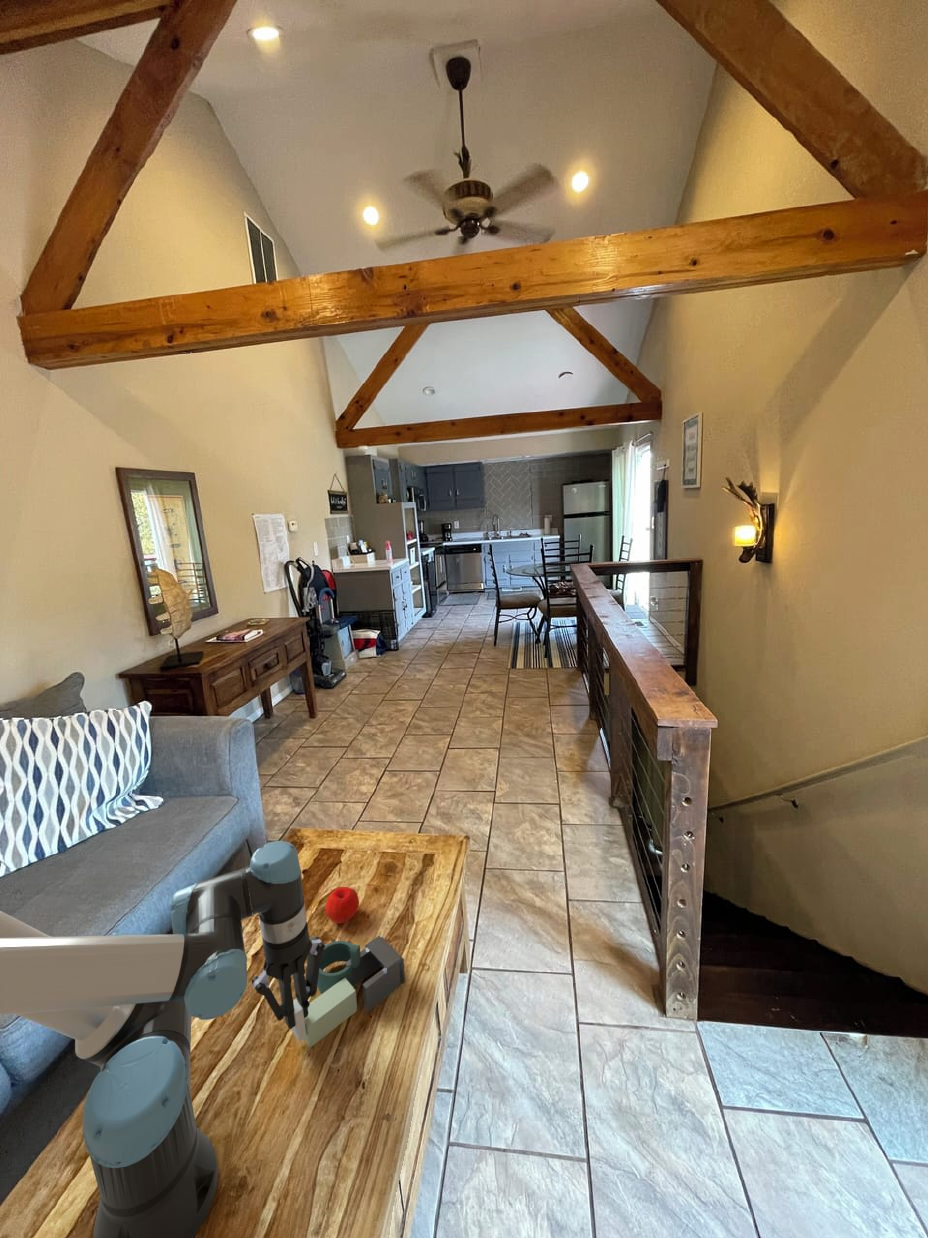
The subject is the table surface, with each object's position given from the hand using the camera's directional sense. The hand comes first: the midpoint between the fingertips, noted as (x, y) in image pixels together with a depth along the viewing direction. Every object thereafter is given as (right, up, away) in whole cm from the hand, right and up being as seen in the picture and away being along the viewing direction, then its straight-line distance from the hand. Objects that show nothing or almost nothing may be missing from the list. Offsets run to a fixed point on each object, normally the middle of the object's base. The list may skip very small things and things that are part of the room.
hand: (299, 1034), depth 93 cm
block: (+4, -1, +5) cm, 7 cm away
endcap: (+12, +1, +11) cm, 16 cm away
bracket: (+4, +1, +13) cm, 14 cm away
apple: (+1, +4, +29) cm, 29 cm away
